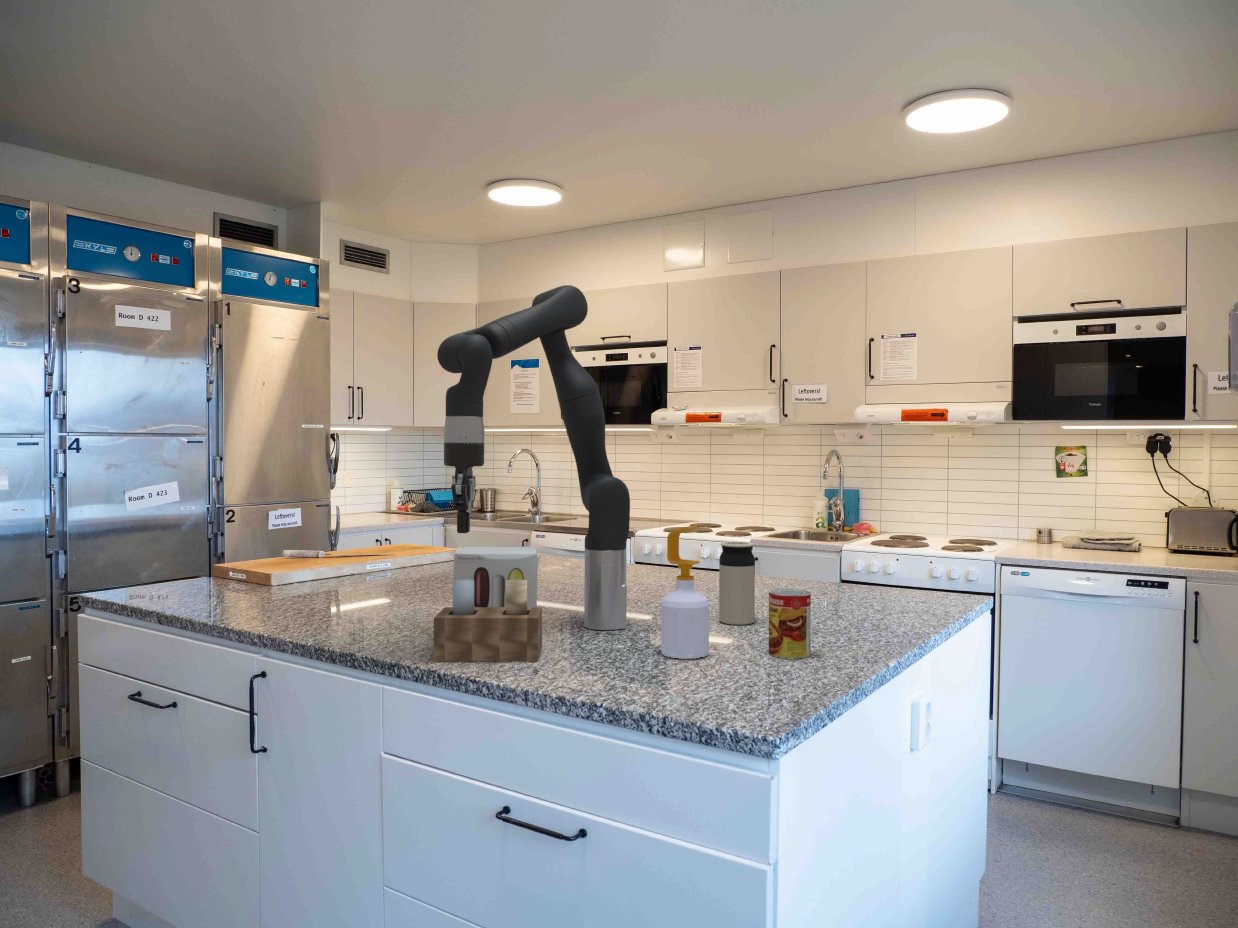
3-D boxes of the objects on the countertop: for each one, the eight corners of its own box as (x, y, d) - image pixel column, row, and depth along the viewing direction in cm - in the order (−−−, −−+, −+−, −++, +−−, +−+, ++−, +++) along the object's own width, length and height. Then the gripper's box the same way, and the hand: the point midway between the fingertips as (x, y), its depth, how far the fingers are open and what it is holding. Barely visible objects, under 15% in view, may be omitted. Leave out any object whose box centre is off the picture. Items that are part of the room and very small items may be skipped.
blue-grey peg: (475, 618, 161) (475, 579, 160) (472, 622, 157) (472, 582, 156) (454, 618, 160) (454, 579, 160) (450, 622, 156) (451, 582, 156)
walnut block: (542, 647, 164) (542, 607, 164) (537, 661, 153) (538, 617, 153) (444, 647, 164) (444, 607, 164) (433, 661, 153) (433, 617, 153)
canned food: (765, 649, 164) (766, 588, 164) (806, 649, 164) (806, 588, 164) (771, 659, 156) (772, 594, 156) (814, 659, 156) (814, 595, 156)
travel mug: (738, 627, 185) (739, 545, 185) (711, 621, 191) (712, 542, 191) (761, 622, 191) (762, 543, 190) (734, 617, 196) (735, 540, 196)
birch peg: (527, 618, 161) (528, 579, 161) (526, 622, 157) (526, 582, 157) (506, 618, 161) (507, 579, 161) (504, 622, 157) (504, 582, 157)
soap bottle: (695, 662, 153) (696, 528, 153) (652, 655, 158) (653, 525, 158) (716, 652, 161) (717, 525, 161) (674, 646, 166) (675, 522, 166)
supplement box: (451, 642, 169) (452, 552, 169) (456, 628, 183) (456, 545, 182) (537, 640, 171) (538, 552, 171) (536, 627, 185) (536, 545, 184)
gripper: (478, 440, 152) (478, 536, 152) (488, 442, 165) (488, 529, 165) (437, 440, 152) (436, 536, 152) (450, 441, 165) (449, 529, 165)
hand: (463, 532), depth 159 cm, fingers closed
